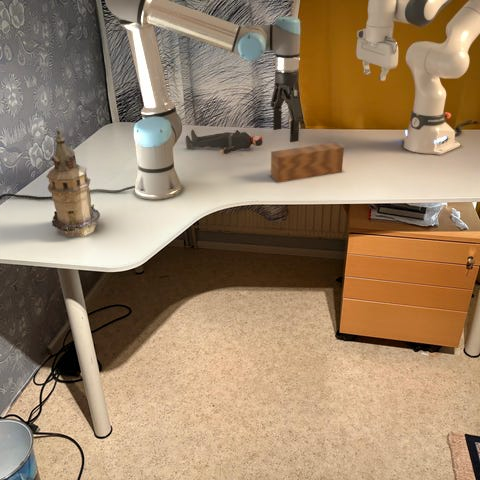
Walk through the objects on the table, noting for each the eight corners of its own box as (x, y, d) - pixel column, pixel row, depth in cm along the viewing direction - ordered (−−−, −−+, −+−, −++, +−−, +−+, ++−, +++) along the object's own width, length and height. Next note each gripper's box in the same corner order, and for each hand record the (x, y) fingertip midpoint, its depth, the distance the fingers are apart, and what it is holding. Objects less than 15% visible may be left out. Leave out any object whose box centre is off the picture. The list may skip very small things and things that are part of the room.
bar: (277, 182, 183) (278, 157, 179) (270, 176, 188) (271, 151, 184) (341, 171, 191) (344, 147, 186) (333, 166, 195) (335, 142, 191)
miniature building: (80, 214, 164) (63, 117, 149) (111, 225, 157) (96, 125, 142) (44, 231, 154) (22, 130, 140) (75, 244, 147) (55, 139, 133)
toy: (197, 123, 225) (267, 123, 219) (198, 137, 228) (268, 138, 222) (178, 143, 203) (256, 144, 197) (180, 159, 206) (257, 160, 200)
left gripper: (316, 77, 160) (312, 145, 170) (281, 61, 180) (280, 123, 191) (293, 79, 157) (291, 148, 168) (261, 63, 178) (260, 126, 188)
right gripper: (405, 38, 169) (400, 83, 176) (370, 29, 186) (366, 70, 193) (388, 40, 168) (383, 84, 174) (354, 31, 184) (351, 72, 191)
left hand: (285, 135), depth 179 cm, fingers open, 13 cm apart
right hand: (374, 77), depth 184 cm, fingers open, 8 cm apart
